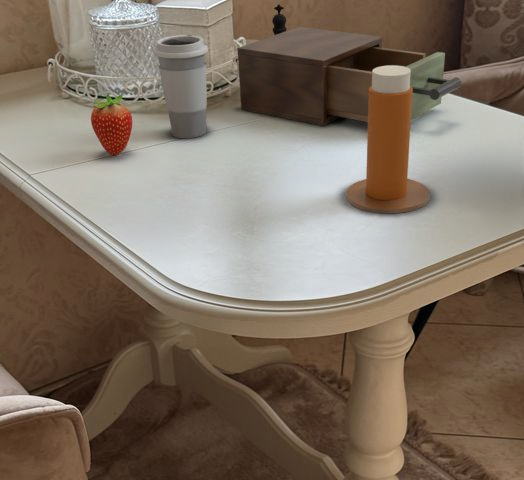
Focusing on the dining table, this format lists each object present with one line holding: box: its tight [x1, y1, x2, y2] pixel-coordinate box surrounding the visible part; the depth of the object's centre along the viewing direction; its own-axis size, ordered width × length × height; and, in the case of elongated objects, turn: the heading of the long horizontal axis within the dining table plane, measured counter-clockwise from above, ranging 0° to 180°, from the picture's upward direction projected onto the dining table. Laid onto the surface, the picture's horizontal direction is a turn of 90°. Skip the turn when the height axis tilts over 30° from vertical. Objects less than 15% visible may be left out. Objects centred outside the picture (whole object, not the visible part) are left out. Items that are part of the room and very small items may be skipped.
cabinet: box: [236, 26, 383, 127], centre depth 113 cm, size 15×15×9 cm
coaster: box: [345, 178, 431, 214], centre depth 87 cm, size 9×9×1 cm
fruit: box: [90, 91, 133, 157], centre depth 100 cm, size 5×5×8 cm
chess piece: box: [271, 4, 288, 36], centre depth 130 cm, size 4×4×10 cm
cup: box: [153, 34, 209, 139], centre depth 104 cm, size 7×7×12 cm
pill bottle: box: [365, 65, 413, 200], centre depth 83 cm, size 4×4×13 cm
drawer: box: [326, 47, 462, 123], centre depth 106 cm, size 18×13×7 cm
